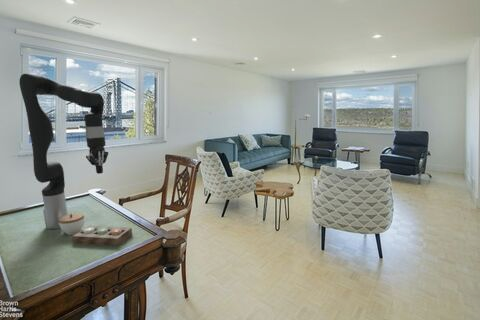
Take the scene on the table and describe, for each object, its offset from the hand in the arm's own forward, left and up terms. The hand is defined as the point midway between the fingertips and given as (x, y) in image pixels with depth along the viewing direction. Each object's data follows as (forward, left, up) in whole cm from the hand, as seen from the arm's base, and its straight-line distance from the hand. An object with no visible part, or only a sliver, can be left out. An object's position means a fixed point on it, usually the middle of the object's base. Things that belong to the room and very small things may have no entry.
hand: (99, 173), depth 128 cm
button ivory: (-3, -8, -27) cm, 28 cm away
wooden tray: (+4, -8, -29) cm, 30 cm away
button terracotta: (+11, -8, -27) cm, 30 cm away
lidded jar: (-16, -3, -29) cm, 33 cm away
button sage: (+4, -8, -27) cm, 29 cm away
